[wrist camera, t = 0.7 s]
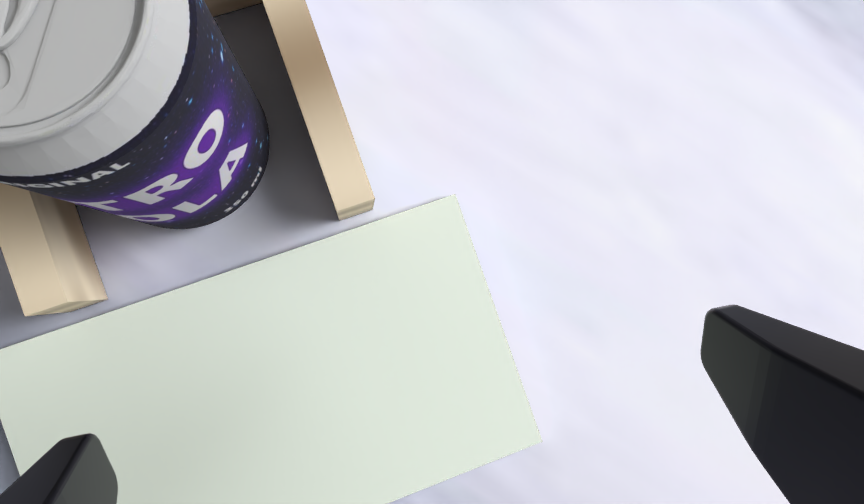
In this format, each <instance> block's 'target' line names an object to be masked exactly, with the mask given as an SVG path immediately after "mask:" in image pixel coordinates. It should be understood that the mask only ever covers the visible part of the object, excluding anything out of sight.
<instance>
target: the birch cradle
mask: <svg viewBox="0 0 864 504" xmlns="http://www.w3.org/2000/svg"><path fill="white" fill-rule="evenodd" d="M204 2H205V3H206V5H207V7H208V9H209V11H210V13H211V15H212V16H213V17H214V16H218V15H221V14H225V13H228V12H232V11H235V10H239V9H242V8H245V7H249V6H252V5H256V4H259V3H263V5H264V8H265V10H266V13H267V16H268V19H269V22H270V25H271V27H272V30H273V33H274V36H275V39H276V42H277V45H278V47H279V50H280V53H281V56H282V59H283V62H284V64H285V67H286V70H287V73H288V76H289V79H290V81H291V84H292V87H293V90H294V93H295V96H296V99H297V101H298V104H299V107H300V110H301V113H302V116H303V118H304V121H305V124H306V127H307V130H308V133H309V135H310V138H311V141H312V144H313V147H314V150H315V153H316V155H317V158H318V161H319V164H320V167H321V170H322V172H323V175H324V178H325V181H326V184H327V187H328V190H329V192H330V195H331V198H332V201H333V204H334V207H335V209H336V212H337V215H338V218H339V221H340V220H343V219H346V218H349V217H352V216H355V215H358V214H361V213H364V212H367V211H370V210H372V209H373V205H374V200H375V198H374V195H373V192H372V189H371V186H370V183H369V180H368V178H367V175H366V172H365V169H364V166H363V163H362V161H361V158H360V155H359V152H358V149H357V146H356V144H355V141H354V138H353V135H352V132H351V129H350V127H349V124H348V121H347V118H346V115H345V112H344V109H343V107H342V104H341V101H340V98H339V95H338V92H337V90H336V87H335V84H334V81H333V78H332V75H331V73H330V70H329V67H328V64H327V61H326V58H325V56H324V53H323V50H322V47H321V44H320V41H319V38H318V36H317V33H316V30H315V27H314V24H313V21H312V19H311V16H310V13H309V10H308V7H307V4H306V2H305V0H204ZM0 247H1V249H2V252H3V255H4V258H5V261H6V264H7V267H8V270H9V272H10V275H11V278H12V281H13V284H14V287H15V290H16V292H17V295H18V298H19V301H20V304H21V307H22V310H23V313H24V315H25V316H34V315H44V314H53V313H63V312H72V311H75V310H78V309H81V308H84V307H87V306H90V305H92V304H95V303H98V302H101V301H104V300H107V299H108V298H107V295H106V292H105V289H104V286H103V283H102V281H101V278H100V275H99V272H98V269H97V266H96V263H95V261H94V258H93V255H92V252H91V249H90V246H89V243H88V241H87V238H86V235H85V232H84V229H83V226H82V223H81V221H80V218H79V215H78V212H77V209H76V206H75V203H71V202H68V201H64V200H61V199H57V198H54V197H50V196H46V195H43V194H39V193H36V192H32V191H28V190H25V189H21V188H18V187H14V186H11V185H7V184H3V183H0Z"/></svg>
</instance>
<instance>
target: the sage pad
mask: <svg viewBox="0 0 864 504" xmlns="http://www.w3.org/2000/svg"><path fill="white" fill-rule="evenodd" d="M0 419H1V422H2V425H3V428H4V431H5V434H6V437H7V440H8V442H9V445H10V448H11V451H12V454H13V457H14V460H15V462H16V465H17V468H18V471H19V474H20V476H21V475H22V474H24V473H25V472H26V471H27V470H28V469H29V468H30V467H31V466H32V465H33V464H34V463H35V462H37V461H38V460H39V459H40V458H41V457H42V456H43V455H44V454H45V453H46V452H47V451H48V450H49V449H51V448H52V447H53V446H54V445H55V444H56V443H57V442H58V441H60V440H61V439H63V438H67V437H72V436H77V435H82V434H87V433H92V434H95V435H96V436H97V437H98V438H99V440H100V442H101V444H102V446H103V448H104V450H105V452H106V454H107V457H108V459H109V461H110V463H111V465H112V467H113V469H114V472H115V474H116V477H117V482H118V496H117V504H387V503H390V502H393V501H395V500H398V499H400V498H403V497H405V496H408V495H410V494H413V493H415V492H418V491H420V490H423V489H425V488H428V487H430V486H433V485H435V484H438V483H440V482H443V481H445V480H448V479H450V478H453V477H455V476H458V475H460V474H463V473H465V472H468V471H470V470H473V469H475V468H478V467H480V466H483V465H485V464H488V463H490V462H493V461H495V460H498V459H500V458H503V457H505V456H508V455H510V454H513V453H515V452H518V451H520V450H523V449H525V448H528V447H530V446H533V445H535V444H538V443H540V442H543V441H542V439H541V436H540V433H539V430H538V427H537V424H536V422H535V419H534V416H533V413H532V410H531V407H530V405H529V402H528V399H527V396H526V393H525V390H524V388H523V385H522V382H521V379H520V376H519V373H518V371H517V368H516V365H515V362H514V359H513V356H512V353H511V351H510V348H509V345H508V342H507V339H506V336H505V334H504V331H503V328H502V325H501V322H500V319H499V317H498V314H497V311H496V308H495V305H494V302H493V300H492V297H491V294H490V291H489V288H488V285H487V283H486V280H485V277H484V274H483V271H482V268H481V266H480V263H479V260H478V257H477V254H476V251H475V249H474V246H473V243H472V240H471V237H470V234H469V232H468V229H467V226H466V223H465V220H464V217H463V215H462V212H461V209H460V206H459V203H458V200H457V198H456V195H455V194H454V195H451V196H448V197H445V198H442V199H439V200H436V201H433V202H430V203H427V204H424V205H421V206H418V207H416V208H413V209H410V210H407V211H404V212H401V213H398V214H395V215H392V216H389V217H386V218H383V219H380V220H377V221H375V222H372V223H369V224H366V225H363V226H360V227H357V228H354V229H351V230H348V231H345V232H342V233H339V234H336V235H334V236H331V237H328V238H325V239H322V240H319V241H316V242H313V243H310V244H307V245H304V246H301V247H298V248H295V249H293V250H290V251H287V252H284V253H281V254H278V255H275V256H272V257H269V258H266V259H263V260H260V261H257V262H254V263H252V264H249V265H246V266H243V267H240V268H237V269H234V270H231V271H228V272H225V273H222V274H219V275H216V276H213V277H211V278H208V279H205V280H202V281H199V282H196V283H193V284H190V285H187V286H184V287H181V288H178V289H175V290H172V291H170V292H167V293H164V294H161V295H158V296H155V297H152V298H149V299H146V300H143V301H140V302H137V303H134V304H131V305H129V306H126V307H123V308H120V309H117V310H114V311H111V312H108V313H105V314H102V315H99V316H96V317H93V318H90V319H88V320H85V321H82V322H79V323H76V324H73V325H70V326H67V327H64V328H61V329H58V330H55V331H52V332H49V333H47V334H44V335H41V336H38V337H35V338H32V339H29V340H26V341H23V342H20V343H17V344H14V345H11V346H8V347H6V348H3V349H0Z"/></svg>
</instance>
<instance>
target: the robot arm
mask: <svg viewBox="0 0 864 504" xmlns="http://www.w3.org/2000/svg"><path fill="white" fill-rule="evenodd" d="M701 360H702V363H703V366H704V368H705V370H706V372H707V374H708V375H709V377H710V379H711V381H712V382H713V384H714V386H715V388H716V389H717V391H718V393H719V394H720V396H721V398H722V400H723V401H724V403H725V405H726V407H727V408H728V410H729V412H730V414H731V415H732V417H733V419H734V421H735V422H736V424H737V426H738V428H739V429H740V431H741V433H742V435H743V436H744V438H745V440H746V441H747V443H748V444H749V446H750V448H751V449H752V451H753V452H754V454H755V455H756V457H757V458H758V460H759V461H760V462H761V464H762V465H763V467H764V468H765V469H766V471H767V472H768V474H769V475H770V476H771V478H772V479H773V481H774V482H775V483H776V485H777V486H778V488H779V489H780V490H781V492H782V493H783V494H784V496H785V497H786V499H787V500H788V501H789V503H790V504H864V350H861V349H858V348H855V347H852V346H850V345H847V344H844V343H841V342H838V341H836V340H833V339H830V338H827V337H825V336H822V335H819V334H816V333H813V332H811V331H808V330H805V329H802V328H799V327H797V326H794V325H791V324H788V323H786V322H783V321H780V320H777V319H774V318H772V317H769V316H766V315H763V314H760V313H758V312H755V311H752V310H749V309H746V308H744V307H741V306H738V305H727V306H722V307H717V308H713V309H711V310H709V311H708V312H707V314H706V316H705V321H704V329H703V337H702V344H701ZM117 496H118V482H117V477H116V474H115V472H114V469H113V467H112V465H111V463H110V461H109V459H108V457H107V454H106V452H105V450H104V448H103V446H102V444H101V442H100V440H99V438H98V437H97V436H96V435H95V434H92V433H87V434H82V435H77V436H72V437H67V438H63V439H61V440H60V441H58V442H57V443H56V444H55V445H54V446H53V447H52V448H51V449H49V450H48V451H47V452H46V453H45V454H44V455H43V456H42V457H41V458H40V459H39V460H38V461H37V462H35V463H34V464H33V465H32V466H31V467H30V468H29V469H28V470H27V471H26V472H25V473H24V474H22V475H21V476H20V477H19V478H18V479H17V480H16V481H15V482H14V483H13V484H12V485H11V486H10V487H8V488H7V489H6V490H5V491H4V492H3V493H2V494H1V495H0V504H117Z"/></svg>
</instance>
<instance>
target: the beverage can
mask: <svg viewBox="0 0 864 504" xmlns="http://www.w3.org/2000/svg"><path fill="white" fill-rule="evenodd" d="M268 155H269V130H268V125H267V121H266V117H265V114H264V112H263V109H262V107H261V105H260V103H259V101H258V99H257V98H256V96H255V94H254V92H253V90H252V88H251V87H250V85H249V83H248V81H247V79H246V77H245V75H244V74H243V72H242V70H241V68H240V66H239V64H238V63H237V61H236V59H235V57H234V55H233V53H232V51H231V50H230V48H229V46H228V44H227V42H226V40H225V39H224V37H223V35H222V33H221V31H220V29H219V27H218V26H217V24H216V22H215V20H214V18H213V16H212V15H211V13H210V11H209V9H208V7H207V5H206V3H205V2H204V0H0V183H3V184H7V185H11V186H14V187H18V188H21V189H25V190H28V191H32V192H36V193H39V194H43V195H46V196H50V197H54V198H57V199H61V200H64V201H68V202H71V203H75V204H79V205H82V206H86V207H89V208H93V209H96V210H100V211H104V212H107V213H111V214H114V215H118V216H122V217H125V218H129V219H132V220H136V221H139V222H143V223H147V224H150V225H154V226H158V227H163V228H170V229H188V228H195V227H200V226H205V225H208V224H211V223H213V222H216V221H218V220H220V219H222V218H224V217H226V216H228V215H229V214H231V213H232V212H234V211H235V210H236V209H238V208H239V207H240V206H241V205H242V204H243V203H244V202H245V201H246V200H247V199H248V198H249V197H250V196H251V194H252V193H253V192H254V190H255V189H256V187H257V186H258V184H259V182H260V180H261V178H262V176H263V174H264V171H265V168H266V165H267V161H268Z"/></svg>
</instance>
